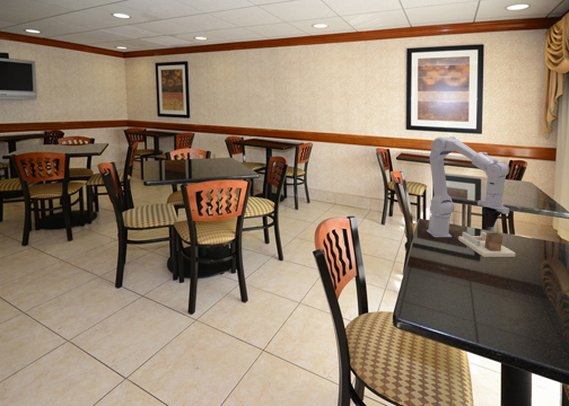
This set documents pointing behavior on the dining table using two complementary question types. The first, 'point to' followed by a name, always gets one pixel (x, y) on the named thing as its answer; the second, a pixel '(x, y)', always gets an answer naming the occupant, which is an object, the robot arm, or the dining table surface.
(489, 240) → the walnut block
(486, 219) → the robot arm
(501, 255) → the channel
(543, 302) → the dining table surface
